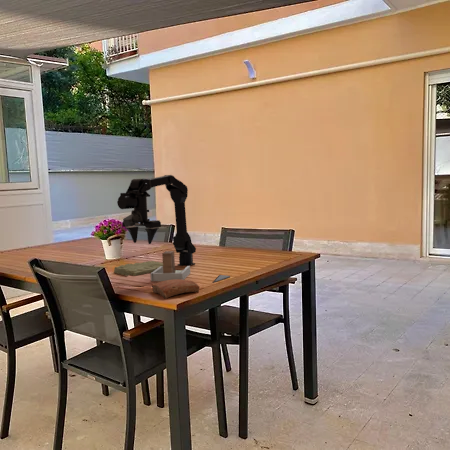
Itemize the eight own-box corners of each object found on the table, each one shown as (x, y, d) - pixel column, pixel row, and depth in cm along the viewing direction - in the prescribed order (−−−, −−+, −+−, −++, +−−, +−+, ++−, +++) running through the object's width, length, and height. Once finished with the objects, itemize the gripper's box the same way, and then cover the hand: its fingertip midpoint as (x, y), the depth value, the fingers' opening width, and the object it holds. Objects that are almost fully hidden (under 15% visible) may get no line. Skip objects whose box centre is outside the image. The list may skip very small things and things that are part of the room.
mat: (208, 274, 194) (208, 273, 194) (230, 277, 187) (230, 276, 187) (190, 279, 185) (190, 278, 185) (212, 282, 177) (212, 281, 177)
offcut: (168, 273, 194) (168, 270, 194) (182, 273, 193) (182, 270, 193) (165, 275, 190) (164, 272, 190) (179, 276, 189) (179, 272, 188)
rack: (160, 275, 196) (160, 266, 195) (190, 274, 194) (190, 265, 194) (150, 283, 181) (150, 273, 180) (182, 283, 179) (182, 273, 179)
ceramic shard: (180, 272, 176) (201, 284, 164) (178, 288, 177) (198, 301, 165) (147, 273, 167) (166, 285, 155) (144, 289, 168) (163, 303, 156)
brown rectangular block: (167, 278, 188) (166, 251, 187) (175, 278, 187) (174, 250, 186) (163, 282, 182) (162, 253, 181) (172, 282, 181) (170, 253, 180)
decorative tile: (171, 271, 206) (171, 263, 206) (134, 279, 192) (134, 271, 192) (148, 266, 220) (148, 259, 219) (112, 273, 206) (112, 266, 205)
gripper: (111, 208, 191) (113, 244, 192) (141, 209, 180) (143, 247, 181) (131, 207, 199) (133, 241, 201) (160, 207, 189) (162, 243, 190)
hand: (142, 243), depth 193 cm, fingers open, 9 cm apart
